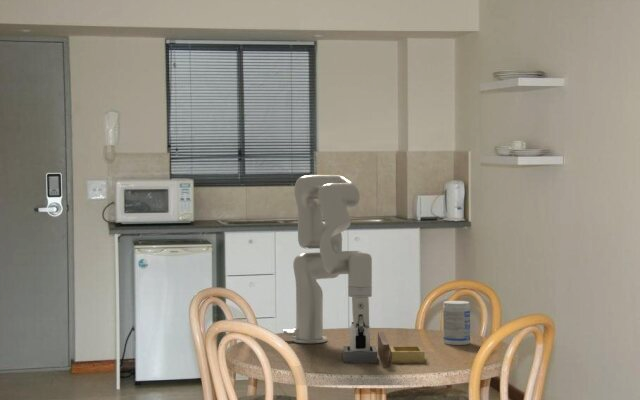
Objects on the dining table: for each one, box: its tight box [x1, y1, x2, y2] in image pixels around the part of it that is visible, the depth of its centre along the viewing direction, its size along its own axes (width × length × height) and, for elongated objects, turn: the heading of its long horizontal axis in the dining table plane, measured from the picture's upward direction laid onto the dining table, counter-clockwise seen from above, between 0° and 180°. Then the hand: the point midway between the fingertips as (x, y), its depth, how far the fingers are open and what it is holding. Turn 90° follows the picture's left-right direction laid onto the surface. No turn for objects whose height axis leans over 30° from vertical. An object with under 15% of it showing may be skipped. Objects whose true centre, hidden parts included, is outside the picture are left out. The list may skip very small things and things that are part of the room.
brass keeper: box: [389, 345, 425, 364], centre depth 313 cm, size 10×10×4 cm
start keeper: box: [342, 345, 378, 364], centre depth 313 cm, size 10×10×4 cm
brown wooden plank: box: [377, 331, 390, 368], centre depth 313 cm, size 2×24×7 cm, turn 0°
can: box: [349, 321, 371, 351], centre depth 313 cm, size 6×6×12 cm
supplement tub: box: [442, 300, 471, 346], centre depth 343 cm, size 10×10×15 cm
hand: (360, 345), depth 313 cm, fingers open, 7 cm apart
